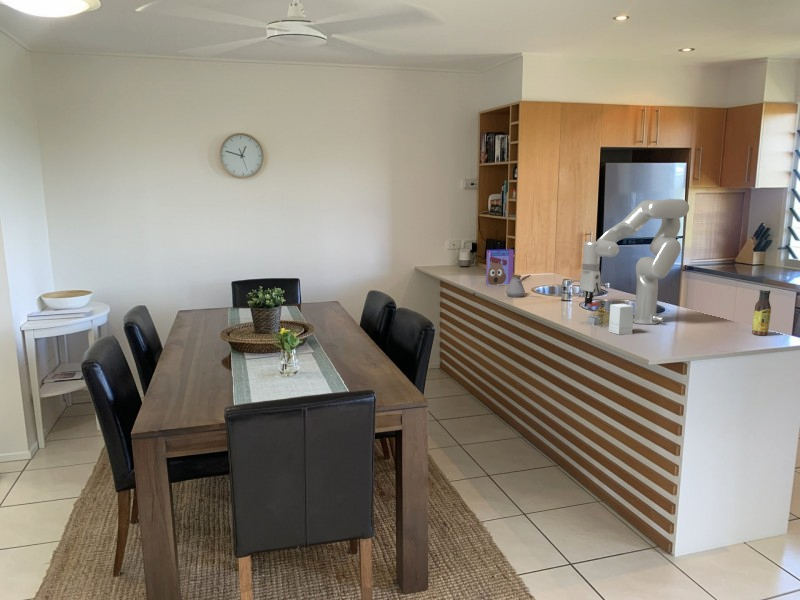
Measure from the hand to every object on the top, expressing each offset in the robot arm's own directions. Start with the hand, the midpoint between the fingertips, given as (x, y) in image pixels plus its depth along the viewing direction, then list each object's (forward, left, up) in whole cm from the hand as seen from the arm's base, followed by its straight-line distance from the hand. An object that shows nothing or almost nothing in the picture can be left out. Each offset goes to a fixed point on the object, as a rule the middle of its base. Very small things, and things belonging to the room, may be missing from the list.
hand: (588, 305), depth 286 cm
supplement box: (-20, +5, -9) cm, 22 cm away
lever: (-3, -2, -1) cm, 4 cm away
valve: (-3, -7, -9) cm, 12 cm away
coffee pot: (+67, -32, -9) cm, 75 cm away
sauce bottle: (-62, -38, -9) cm, 73 cm away
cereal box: (+108, -62, -9) cm, 125 cm away
